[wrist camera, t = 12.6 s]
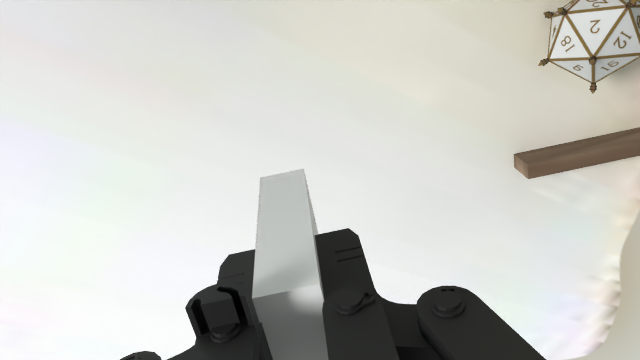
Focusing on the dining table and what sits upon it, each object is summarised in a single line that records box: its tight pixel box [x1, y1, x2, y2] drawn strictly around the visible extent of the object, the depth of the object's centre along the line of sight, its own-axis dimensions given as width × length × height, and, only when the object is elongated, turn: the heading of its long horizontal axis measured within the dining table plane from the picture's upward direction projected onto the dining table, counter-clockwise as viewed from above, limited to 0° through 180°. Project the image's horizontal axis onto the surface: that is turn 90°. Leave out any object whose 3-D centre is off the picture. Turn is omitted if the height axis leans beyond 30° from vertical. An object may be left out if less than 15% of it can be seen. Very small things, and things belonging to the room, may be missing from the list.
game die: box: [538, 0, 640, 93], centre depth 41 cm, size 9×8×10 cm
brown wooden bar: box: [514, 128, 640, 179], centre depth 44 cm, size 21×18×3 cm
